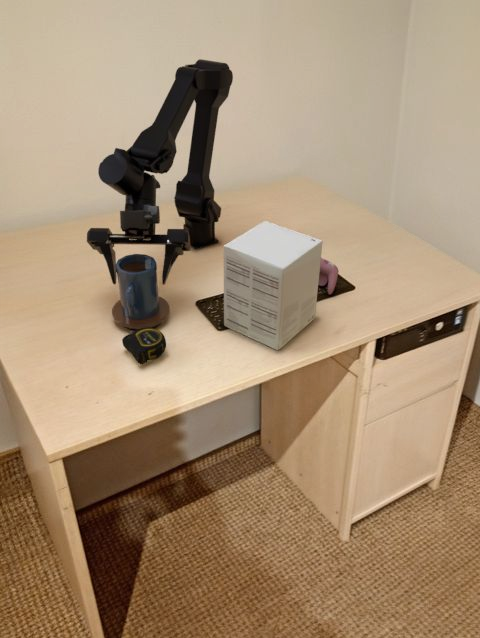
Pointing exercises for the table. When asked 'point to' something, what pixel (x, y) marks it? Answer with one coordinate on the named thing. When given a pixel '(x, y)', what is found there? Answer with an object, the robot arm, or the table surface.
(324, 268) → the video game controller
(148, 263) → the mug
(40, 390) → the table surface
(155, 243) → the robot arm
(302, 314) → the supplement box
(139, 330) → the tape measure
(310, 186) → the table surface
